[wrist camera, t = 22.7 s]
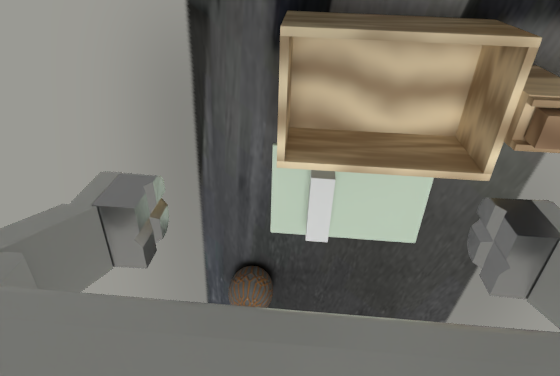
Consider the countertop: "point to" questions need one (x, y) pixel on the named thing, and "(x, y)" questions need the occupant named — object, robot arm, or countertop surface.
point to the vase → (251, 288)
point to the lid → (347, 204)
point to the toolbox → (406, 93)
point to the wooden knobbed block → (544, 129)
